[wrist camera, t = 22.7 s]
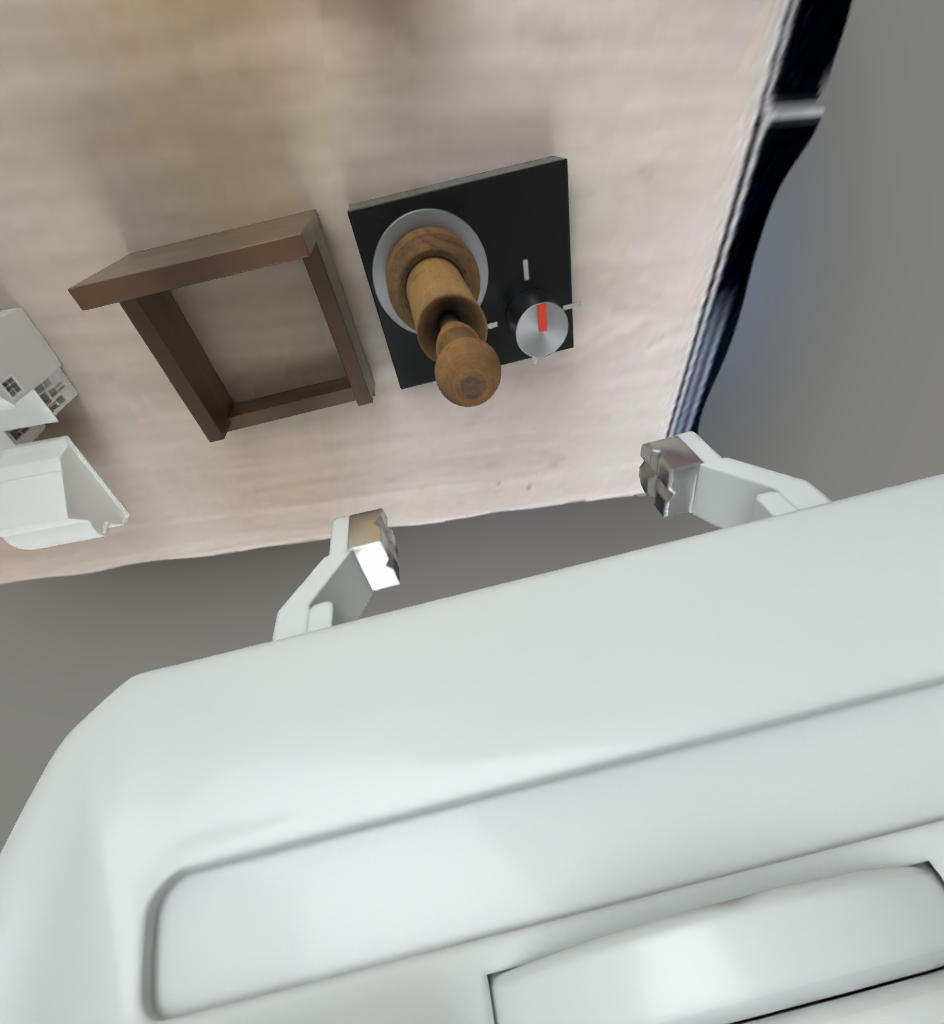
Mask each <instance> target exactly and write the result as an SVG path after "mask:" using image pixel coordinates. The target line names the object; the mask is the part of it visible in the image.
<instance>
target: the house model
mask: <svg viewBox="0 0 944 1024" xmlns="http://www.w3.org/2000/svg"><path fill="white" fill-rule="evenodd" d="M61 365H62V363H61V362H60V361H59V359H58V358H57V356H56V355H55V354H54V352H53V351H52V349H51V348H50V347H49V345H48V344H47V342H46V341H45V340H44V338H43V337H42V335H41V334H40V333H39V331H38V330H37V328H36V327H35V326H34V324H33V323H32V321H31V320H30V319H29V317H28V316H27V314H26V313H25V312H24V310H23V309H22V307H19V308H13V309H7V310H1V311H0V537H3V539H4V540H5V541H6V542H7V543H8V544H10V545H11V546H14V547H16V548H19V549H25V550H34V549H40V548H45V547H51V546H56V545H61V544H67V543H72V542H77V541H82V540H88V539H93V538H98V537H103V536H107V532H108V528H111V527H116V526H121V525H125V524H126V523H127V521H128V519H129V518H130V514H129V513H128V512H127V510H126V509H125V508H124V507H123V505H122V504H121V503H120V502H119V500H118V499H117V498H116V497H115V495H114V494H113V493H112V491H111V490H110V489H109V488H108V486H107V485H106V484H105V483H104V481H103V480H102V479H101V477H100V476H99V475H98V474H97V472H96V471H95V470H94V469H93V467H92V466H91V465H90V463H89V462H88V461H87V460H86V458H85V457H84V456H83V455H82V453H81V452H80V451H79V450H78V448H77V447H76V446H75V444H74V443H73V442H72V441H71V439H70V438H69V437H68V436H62V437H57V438H51V439H45V440H40V441H34V442H32V441H33V440H34V439H35V438H36V437H37V436H38V435H39V434H41V433H42V432H43V431H44V428H45V427H46V425H45V424H47V423H53V422H59V421H58V419H57V418H56V417H55V415H56V414H57V413H58V412H59V411H60V410H61V409H62V408H64V407H65V406H66V405H67V404H68V403H69V402H70V401H71V400H72V399H73V398H75V397H76V395H77V394H78V392H77V391H76V389H75V388H74V387H73V385H72V384H71V383H70V381H69V380H68V378H67V377H66V376H65V374H64V373H63V371H62V370H61V369H60V366H61ZM59 404H61V405H60V406H59ZM53 405H58V406H59V407H58V408H57V409H52V410H54V411H53V412H51V411H52V410H50V408H51V407H52V406H53ZM48 406H50V407H49V408H48Z"/></svg>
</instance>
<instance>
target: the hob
mask: <svg viewBox="0 0 944 1024" xmlns="http://www.w3.org/2000/svg"><path fill="white" fill-rule="evenodd" d="M422 208H436V209H441V210H445V211H448V212H450V213H452V214H454V215H456V216H458V217H459V218H461V219H462V220H464V221H465V222H466V223H467V224H468V225H469V226H470V227H471V228H472V229H473V231H474V232H475V233H476V235H477V236H478V238H479V239H480V241H481V243H482V245H483V247H484V250H485V253H486V257H487V262H488V284H487V289H486V293H485V296H484V299H483V301H482V303H481V305H480V307H481V309H482V311H483V313H484V315H485V317H486V321H487V326H488V333H487V339H486V343H487V344H489V345H490V346H491V347H492V348H493V350H494V351H495V352H496V354H497V356H498V358H499V361H500V365H503V364H507V363H511V362H515V361H519V360H524V359H528V358H532V365H536V364H537V360H536V357H532V356H529V355H527V354H525V353H524V352H523V351H522V350H521V349H520V348H519V346H518V344H517V343H516V341H515V340H514V338H513V337H512V335H511V334H510V332H509V331H508V328H507V326H506V311H507V308H508V306H509V304H510V302H511V301H512V300H513V298H514V297H515V296H516V295H518V294H519V293H521V292H523V291H525V290H529V289H538V290H541V291H543V292H545V293H546V294H548V295H549V296H550V297H551V298H552V299H553V300H554V301H555V302H556V303H557V304H558V305H559V306H560V307H561V308H562V309H563V310H564V312H565V314H566V316H567V319H568V332H567V336H566V338H565V340H564V342H563V343H562V345H561V346H560V347H559V348H558V349H557V350H556V351H560V350H564V349H569V348H573V346H574V345H573V315H572V308H575V307H579V306H580V301H578V302H574V303H572V286H571V256H570V226H569V197H568V167H567V159H566V158H561V157H556V156H550V157H546V158H542V159H538V160H534V161H530V162H525V163H521V164H517V165H513V166H509V167H505V168H500V169H496V170H492V171H488V172H484V173H480V174H475V175H471V176H467V177H463V178H459V179H455V180H450V181H446V182H442V183H438V184H434V185H430V186H425V187H421V188H417V189H413V190H409V191H405V192H400V193H396V194H392V195H388V196H384V197H380V198H375V199H371V200H367V201H363V202H359V203H355V204H350V205H349V208H348V216H349V219H350V222H351V226H352V229H353V232H354V236H355V239H356V242H357V246H358V249H359V252H360V255H361V259H362V262H363V265H364V269H365V272H366V275H367V279H368V282H369V285H370V288H371V292H372V295H373V298H374V302H375V305H376V308H377V312H378V315H379V318H380V322H381V325H382V328H383V331H384V335H385V338H386V341H387V345H388V348H389V351H390V355H391V358H392V361H393V364H394V368H395V371H396V374H397V378H398V381H399V384H400V388H401V389H405V388H409V387H413V386H417V385H421V384H425V383H429V382H434V381H436V379H435V364H436V362H435V361H433V360H432V359H430V358H429V357H428V356H427V355H426V354H425V353H424V351H423V350H422V348H421V346H420V344H419V341H418V338H417V334H416V333H413V332H411V331H408V330H406V329H404V328H403V327H401V326H400V325H398V324H397V323H396V322H395V321H394V320H392V319H391V318H390V317H389V315H388V314H387V313H386V312H385V310H384V309H383V307H382V306H381V304H380V302H379V300H378V298H377V295H376V292H375V288H374V284H373V277H372V264H373V256H374V253H375V249H376V246H377V244H378V241H379V239H380V238H381V236H382V234H383V233H384V231H385V230H386V229H387V228H388V226H389V225H390V224H391V223H392V222H393V221H395V220H396V219H397V218H399V217H400V216H402V215H404V214H406V213H408V212H410V211H413V210H416V209H422ZM556 351H555V352H556Z"/></svg>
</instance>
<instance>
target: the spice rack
mask: <svg viewBox="0 0 944 1024" xmlns="http://www.w3.org/2000/svg"><path fill="white" fill-rule="evenodd" d="M300 258H303V260H304V263H305V266H306V268H307V271H308V274H309V276H310V279H311V282H312V284H313V287H314V289H315V292H316V295H317V297H318V300H319V303H320V305H321V308H322V311H323V313H324V316H325V319H326V321H327V324H328V327H329V329H330V332H331V334H332V337H333V340H334V342H335V345H336V348H337V350H338V353H339V356H340V358H341V361H342V364H343V366H344V369H345V371H346V374H347V377H344V378H340V379H336V380H332V381H328V382H323V383H319V384H315V385H311V386H307V387H303V388H299V389H295V390H291V391H287V392H282V393H278V394H274V395H270V396H266V397H262V398H258V399H254V400H250V401H246V402H241V403H237V404H234V403H233V401H232V400H231V398H230V396H229V394H228V393H227V391H226V389H225V387H224V386H223V384H222V382H221V380H220V379H219V377H218V375H217V374H216V372H215V370H214V368H213V367H212V365H211V363H210V361H209V360H208V358H207V356H206V354H205V353H204V351H203V349H202V347H201V346H200V344H199V342H198V340H197V339H196V337H195V335H194V333H193V332H192V330H191V328H190V326H189V325H188V323H187V321H186V319H185V318H184V316H183V314H182V313H181V311H180V309H179V307H178V306H177V304H176V302H175V300H174V299H173V297H172V295H171V293H170V292H169V290H172V289H176V288H180V287H184V286H188V285H192V284H196V283H201V282H205V281H209V280H213V279H217V278H221V277H226V276H230V275H234V274H238V273H242V272H246V271H250V270H255V269H259V268H263V267H267V266H271V265H275V264H279V263H284V262H288V261H292V260H296V259H300ZM68 291H69V292H70V294H71V295H72V296H73V298H74V299H75V301H76V302H77V303H78V305H79V306H80V308H81V309H82V310H89V309H93V308H97V307H101V306H105V305H109V304H113V303H118V302H119V303H120V305H121V306H122V308H123V309H124V311H125V312H126V314H127V315H128V317H129V318H130V320H131V321H132V323H133V325H134V326H135V328H136V329H137V331H138V332H139V334H140V335H141V337H142V338H143V340H144V341H145V343H146V345H147V346H148V348H149V349H150V351H151V352H152V354H153V355H154V357H155V358H156V360H157V361H158V363H159V364H160V366H161V368H162V369H163V371H164V372H165V374H166V375H167V377H168V378H169V380H170V381H171V383H172V384H173V386H174V388H175V389H176V391H177V392H178V394H179V395H180V397H181V398H182V400H183V401H184V403H185V404H186V406H187V407H188V409H189V411H190V412H191V414H192V415H193V417H194V418H195V420H196V421H197V423H198V424H199V426H200V427H201V429H202V431H203V432H204V434H205V435H206V437H207V438H208V440H209V441H210V442H214V441H218V440H222V439H225V436H226V434H227V432H228V431H232V430H237V429H241V428H245V427H249V426H253V425H257V424H261V423H265V422H269V421H273V420H277V419H282V418H286V417H290V416H294V415H298V414H302V413H306V412H310V411H314V410H318V409H322V408H327V407H331V406H335V405H339V404H343V403H347V402H351V401H355V400H356V401H357V403H358V405H359V406H361V405H365V404H370V403H373V396H375V382H374V379H373V376H372V373H371V371H370V368H369V365H368V362H367V359H366V356H365V353H364V350H363V347H362V344H361V341H360V338H359V335H358V333H357V330H356V327H355V324H354V321H353V318H352V315H351V312H350V309H349V306H348V303H347V300H346V297H345V294H344V291H343V288H342V286H341V283H340V280H339V277H338V274H337V271H336V268H335V265H334V262H333V259H332V256H331V253H330V250H329V247H328V244H327V241H326V238H325V236H324V233H323V230H322V227H321V224H320V221H319V218H318V215H317V212H316V210H311V211H306V212H302V213H298V214H294V215H290V216H286V217H281V218H277V219H273V220H269V221H265V222H261V223H256V224H252V225H248V226H244V227H240V228H236V229H231V230H227V231H223V232H219V233H215V234H211V235H206V236H202V237H198V238H194V239H190V240H186V241H181V242H177V243H173V244H169V245H165V246H161V247H156V248H152V249H148V250H144V251H140V252H136V253H131V254H129V255H127V256H125V257H124V258H122V259H120V260H118V261H117V262H115V263H113V264H111V265H109V266H108V267H106V268H104V269H102V270H101V271H99V272H97V273H95V274H94V275H92V276H90V277H88V278H87V279H85V280H83V281H81V282H80V283H78V284H76V285H74V286H73V287H71V288H69V289H68Z"/></svg>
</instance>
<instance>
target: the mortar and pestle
mask: <svg viewBox="0 0 944 1024" xmlns="http://www.w3.org/2000/svg"><path fill="white" fill-rule="evenodd" d="M386 284H387V290H388V295H389V299H390V302H391V305H392V307H393V309H394V311H395V312H396V314H397V315H398V317H399V318H400V319H401V320H402V321H403V322H404V323H405V324H406V325H407V326H409V327H410V328H412V329H413V330H415V331H416V333H417V338H418V341H419V344H420V346H421V348H422V350H423V351H424V353H425V354H426V355H427V356H428V357H429V358H430V359H432V360H433V361H435V362H436V364H435V379H436V382H437V385H438V387H439V389H440V391H441V393H442V394H443V395H444V396H445V397H446V398H447V399H448V400H449V401H451V402H452V403H454V404H456V405H459V406H464V407H472V406H477V405H480V404H482V403H484V402H486V401H487V400H488V399H489V398H491V396H492V395H493V394H494V393H495V391H496V390H497V388H498V385H499V383H500V379H501V365H500V361H499V358H498V356H497V354H496V352H495V351H494V350H493V348H492V347H491V346H490V345H489V344H487V343H486V339H487V333H488V326H487V321H486V317H485V315H484V313H483V311H482V309H481V307H480V306H479V304H478V303H477V301H478V298H479V293H480V273H479V268H478V265H477V262H476V260H475V258H474V256H473V254H472V253H471V251H470V250H469V248H468V247H467V245H466V244H465V243H464V242H463V241H462V240H461V239H460V238H459V237H458V236H457V235H456V234H454V233H453V232H451V231H449V230H447V229H444V228H441V227H434V226H428V227H422V228H418V229H415V230H413V231H411V232H409V233H408V234H406V235H405V236H404V237H403V238H401V239H400V240H399V242H398V243H397V244H396V245H395V247H394V248H393V250H392V252H391V254H390V257H389V260H388V263H387V269H386Z"/></svg>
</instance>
